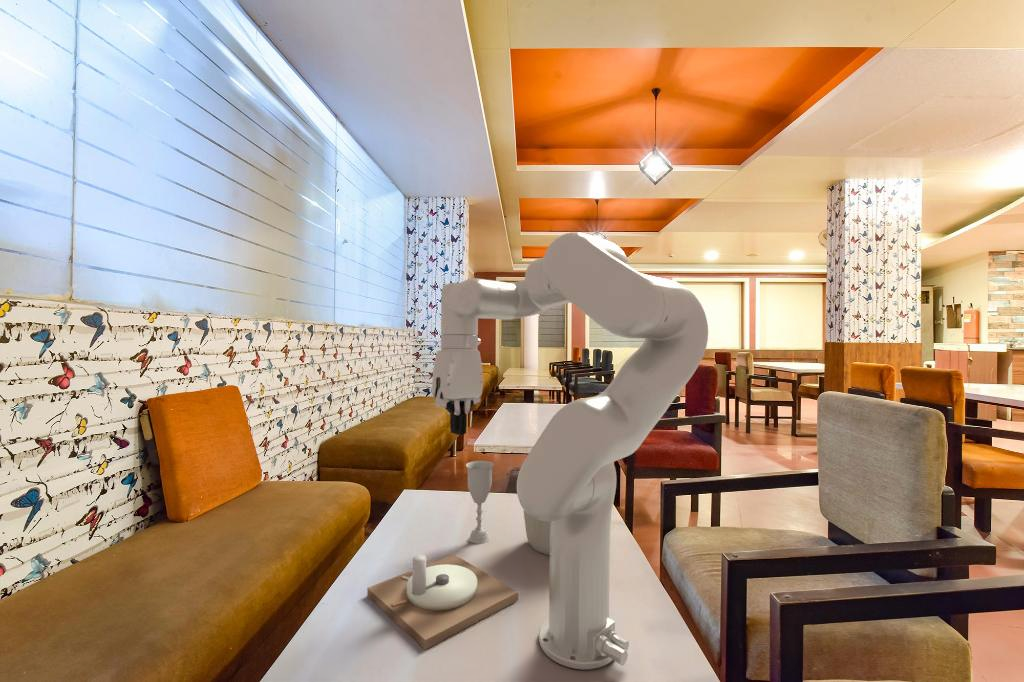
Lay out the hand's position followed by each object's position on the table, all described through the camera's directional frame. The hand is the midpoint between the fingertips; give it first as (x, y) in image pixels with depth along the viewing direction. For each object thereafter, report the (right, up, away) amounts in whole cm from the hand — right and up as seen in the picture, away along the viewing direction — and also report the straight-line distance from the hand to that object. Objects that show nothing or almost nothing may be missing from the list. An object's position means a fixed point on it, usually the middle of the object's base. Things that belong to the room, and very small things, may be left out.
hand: (458, 433), depth 93 cm
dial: (-2, -28, -8) cm, 29 cm away
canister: (+21, -30, +13) cm, 39 cm away
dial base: (-2, -29, -8) cm, 30 cm away
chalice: (+3, -29, +17) cm, 34 cm away
